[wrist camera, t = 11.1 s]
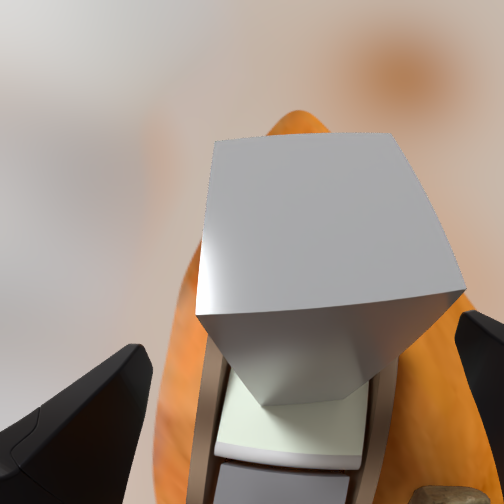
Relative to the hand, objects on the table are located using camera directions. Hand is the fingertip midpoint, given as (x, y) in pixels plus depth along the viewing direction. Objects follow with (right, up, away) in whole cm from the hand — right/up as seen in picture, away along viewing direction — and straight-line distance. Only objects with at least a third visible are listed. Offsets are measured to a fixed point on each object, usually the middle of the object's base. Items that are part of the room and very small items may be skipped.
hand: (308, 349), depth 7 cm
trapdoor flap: (+1, -9, +10) cm, 13 cm away
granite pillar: (+1, -4, +9) cm, 10 cm away
